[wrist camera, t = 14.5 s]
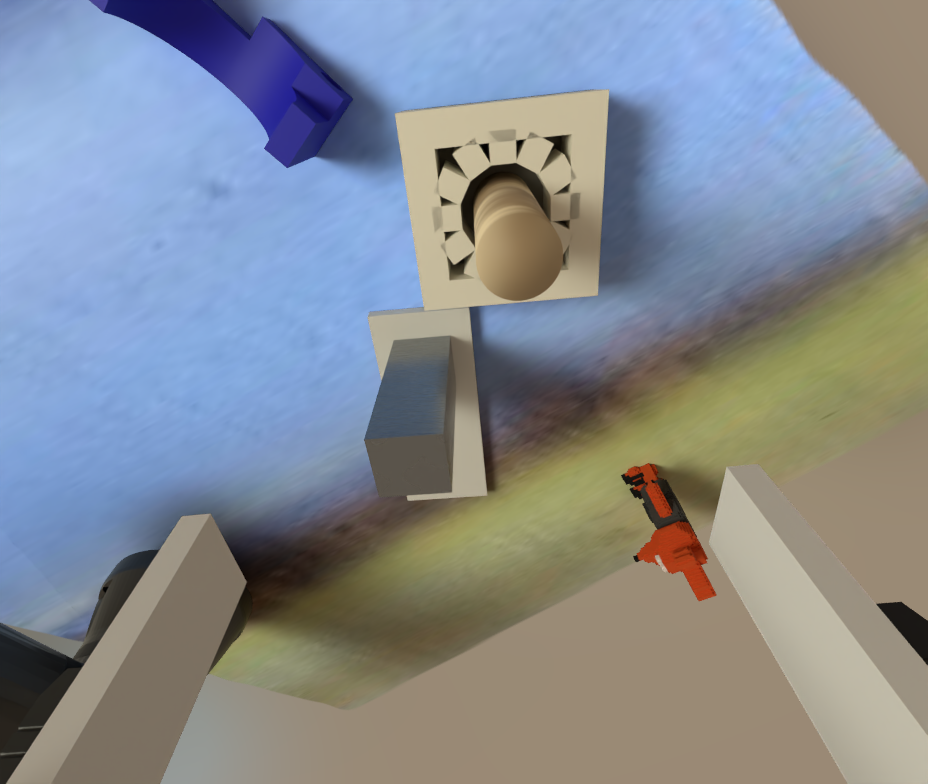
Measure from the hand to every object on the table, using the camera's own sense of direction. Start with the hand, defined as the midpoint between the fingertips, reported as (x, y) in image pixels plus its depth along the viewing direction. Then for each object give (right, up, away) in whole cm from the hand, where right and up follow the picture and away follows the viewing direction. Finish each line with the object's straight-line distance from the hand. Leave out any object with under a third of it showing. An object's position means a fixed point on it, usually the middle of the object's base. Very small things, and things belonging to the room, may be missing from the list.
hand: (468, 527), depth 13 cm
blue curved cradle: (-13, +25, +17) cm, 33 cm away
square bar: (-3, +6, +27) cm, 28 cm away
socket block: (+3, +17, +21) cm, 27 cm away
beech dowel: (+3, +17, +20) cm, 26 cm away
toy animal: (+17, -5, +35) cm, 40 cm away
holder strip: (-3, +2, +31) cm, 31 cm away
